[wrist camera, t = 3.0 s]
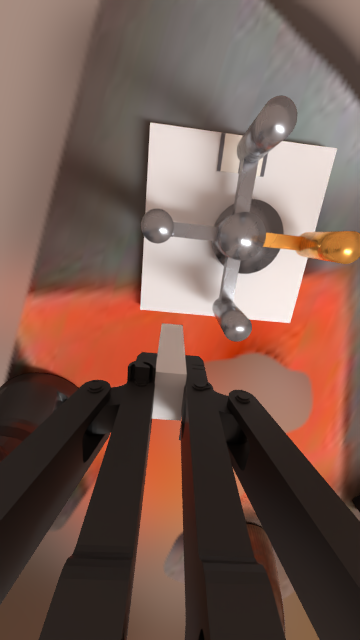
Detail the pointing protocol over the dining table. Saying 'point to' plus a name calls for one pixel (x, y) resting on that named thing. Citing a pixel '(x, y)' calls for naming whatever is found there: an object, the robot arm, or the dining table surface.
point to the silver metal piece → (252, 222)
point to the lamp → (267, 563)
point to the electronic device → (357, 502)
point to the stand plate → (206, 206)
